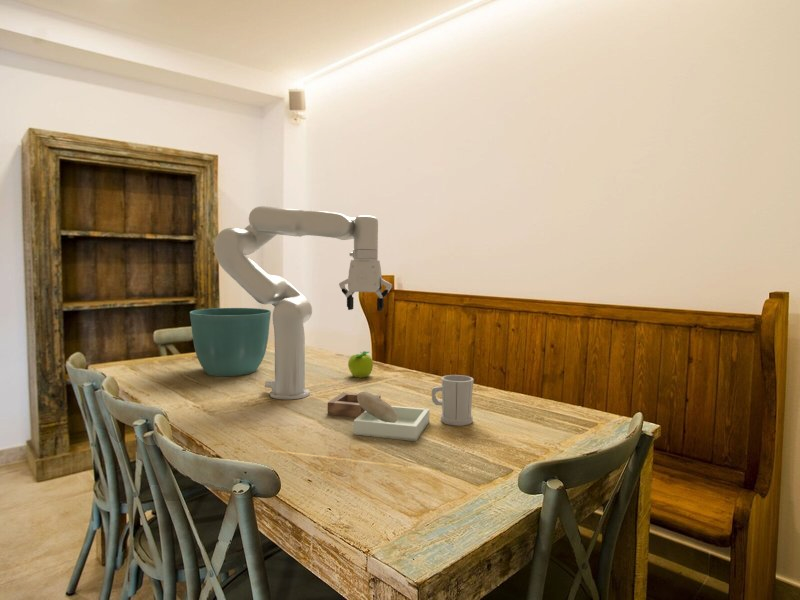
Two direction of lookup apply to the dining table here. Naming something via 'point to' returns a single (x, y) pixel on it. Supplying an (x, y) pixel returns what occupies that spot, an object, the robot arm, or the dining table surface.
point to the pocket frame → (346, 405)
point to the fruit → (360, 365)
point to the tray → (394, 424)
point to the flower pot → (230, 339)
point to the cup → (455, 399)
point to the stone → (377, 407)
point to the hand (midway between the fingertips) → (365, 310)
